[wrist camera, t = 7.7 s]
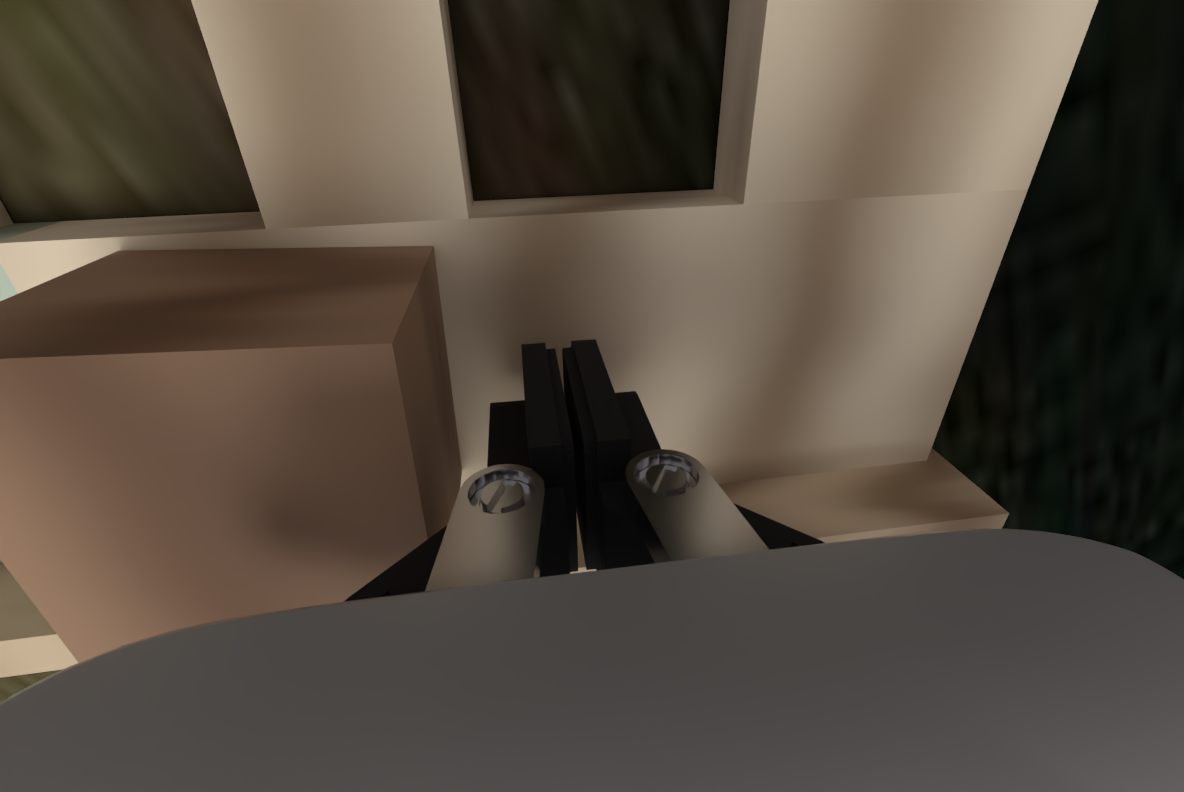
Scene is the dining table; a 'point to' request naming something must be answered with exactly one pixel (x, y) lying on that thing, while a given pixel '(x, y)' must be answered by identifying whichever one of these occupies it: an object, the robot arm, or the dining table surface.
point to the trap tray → (662, 237)
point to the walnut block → (220, 434)
